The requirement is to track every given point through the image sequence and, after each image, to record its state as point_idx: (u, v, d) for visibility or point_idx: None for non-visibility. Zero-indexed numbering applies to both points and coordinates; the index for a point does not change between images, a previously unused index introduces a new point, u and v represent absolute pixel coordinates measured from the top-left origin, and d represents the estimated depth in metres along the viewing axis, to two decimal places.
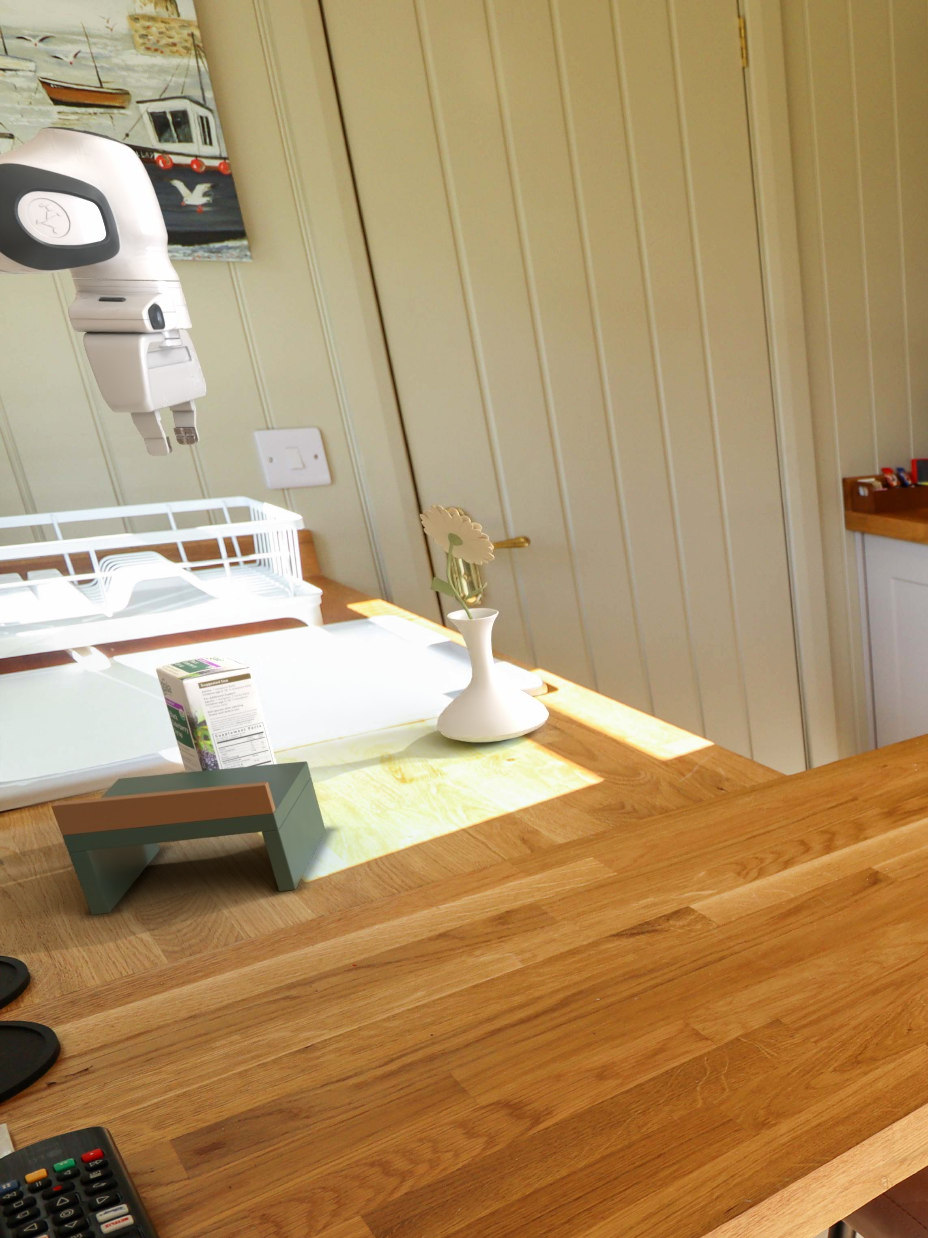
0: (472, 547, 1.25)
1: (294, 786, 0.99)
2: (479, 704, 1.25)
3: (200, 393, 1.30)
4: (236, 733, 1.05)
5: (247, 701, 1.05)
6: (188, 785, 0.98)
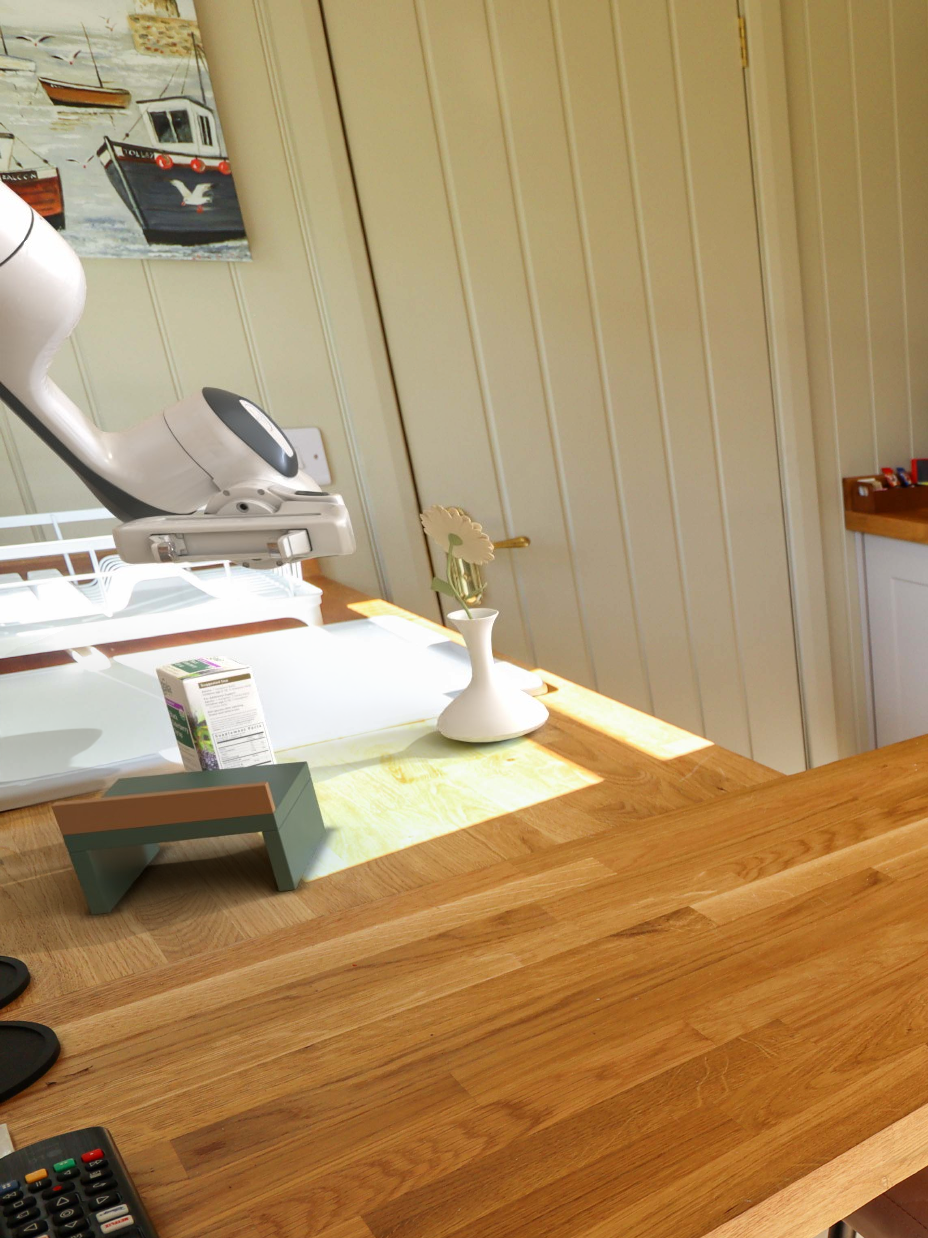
0: (472, 547, 1.25)
1: (294, 786, 0.99)
2: (479, 704, 1.25)
3: None
4: (236, 733, 1.05)
5: (247, 701, 1.05)
6: (188, 785, 0.98)
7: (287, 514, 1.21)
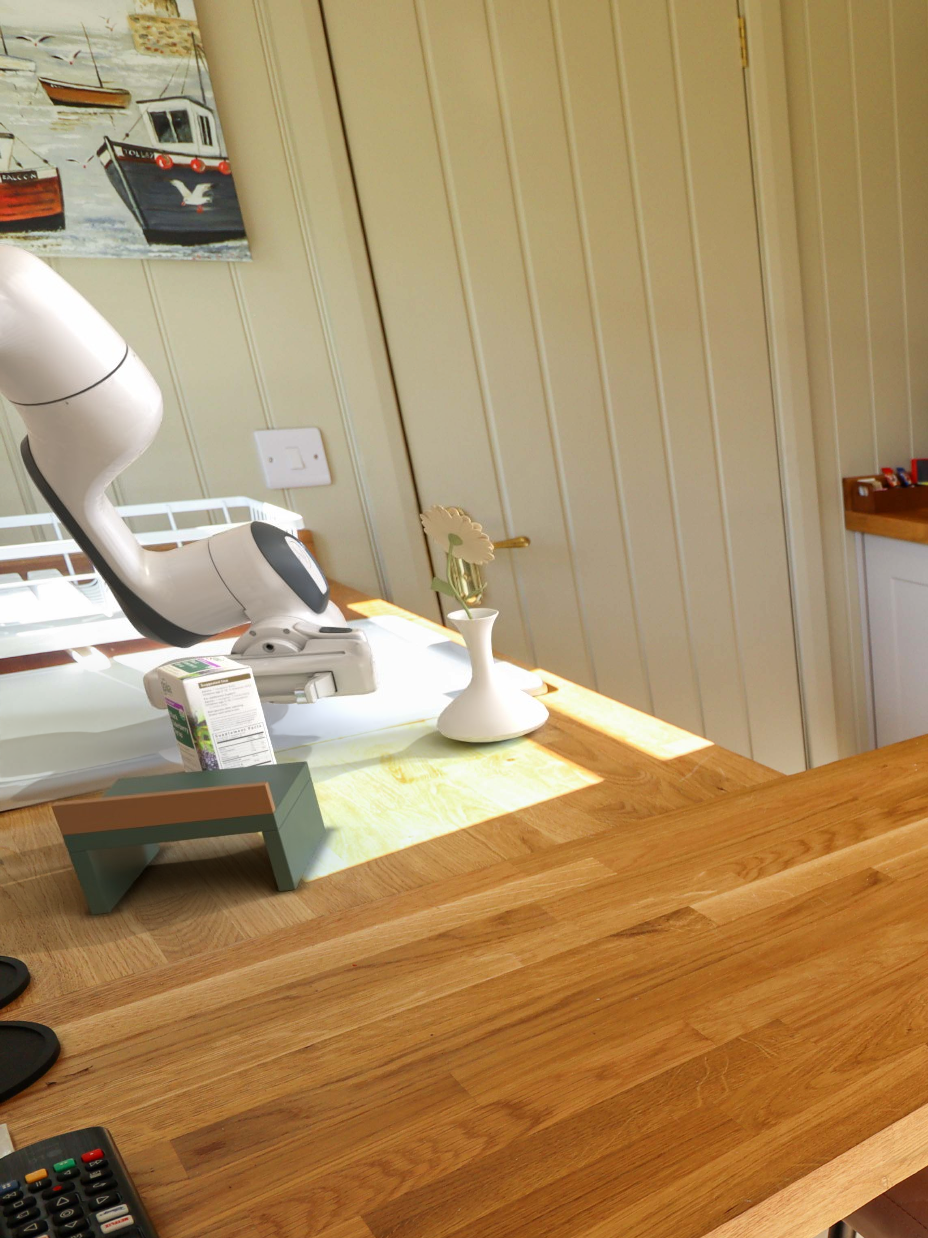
0: (472, 547, 1.25)
1: (294, 786, 0.99)
2: (479, 704, 1.25)
3: None
4: (236, 733, 1.05)
5: (247, 701, 1.05)
6: (188, 785, 0.98)
7: (312, 653, 1.24)
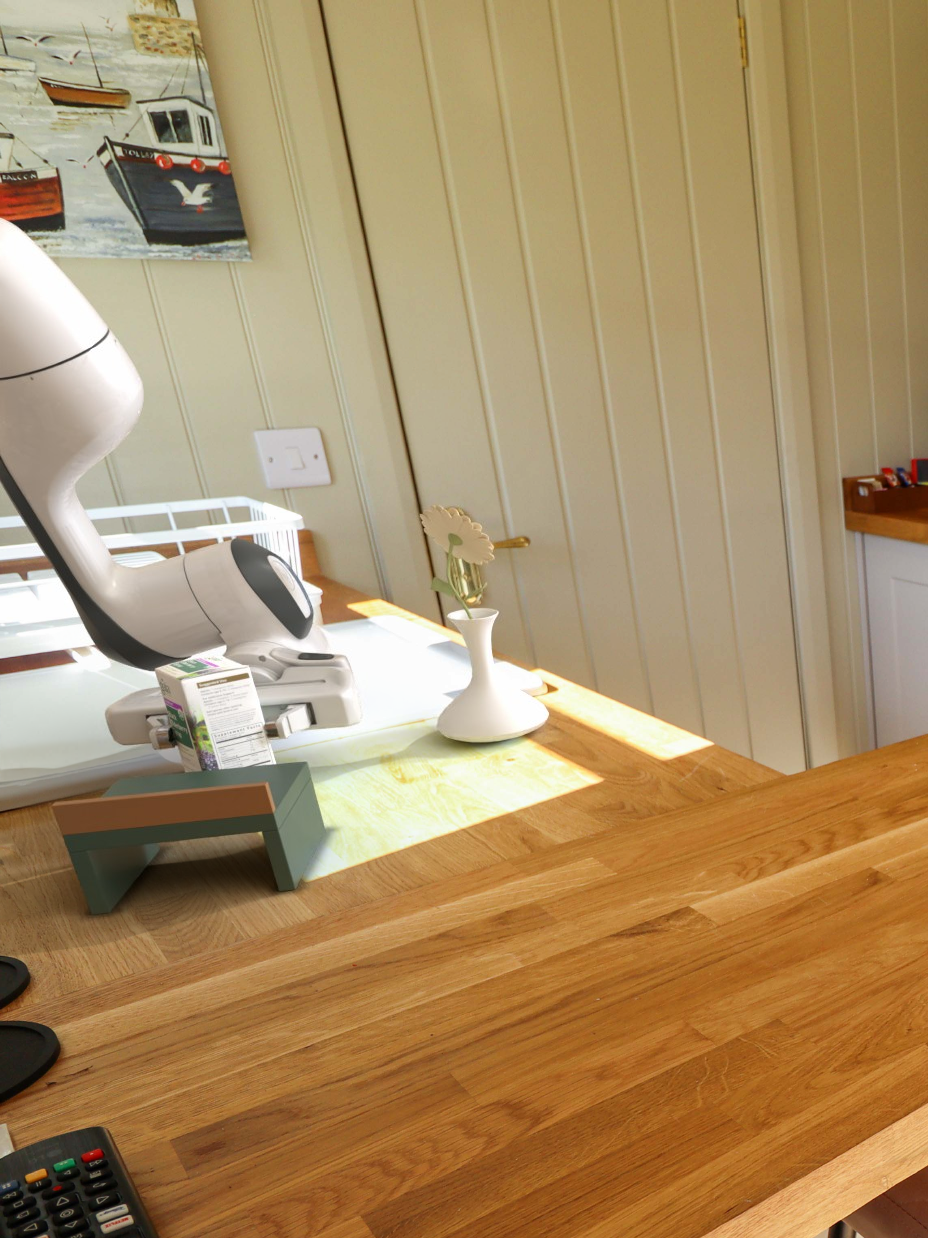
0: (472, 547, 1.25)
1: (294, 786, 0.99)
2: (479, 704, 1.25)
3: None
4: (235, 733, 1.05)
5: (246, 701, 1.05)
6: (188, 785, 0.98)
7: (290, 682, 1.15)
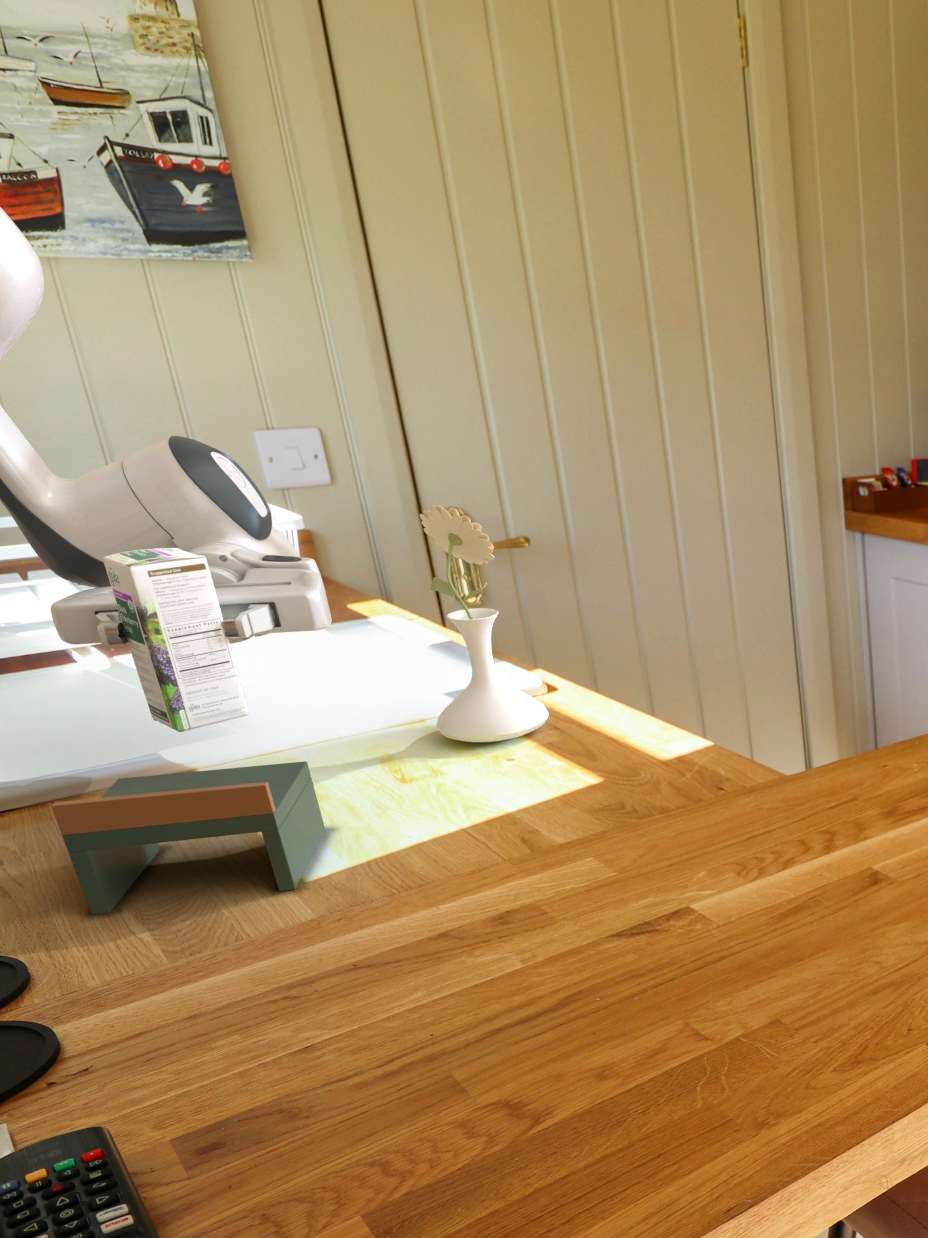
0: (472, 547, 1.25)
1: (294, 786, 0.99)
2: (479, 704, 1.25)
3: None
4: (190, 629, 0.97)
5: (202, 594, 0.97)
6: (188, 785, 0.98)
7: (253, 583, 1.07)
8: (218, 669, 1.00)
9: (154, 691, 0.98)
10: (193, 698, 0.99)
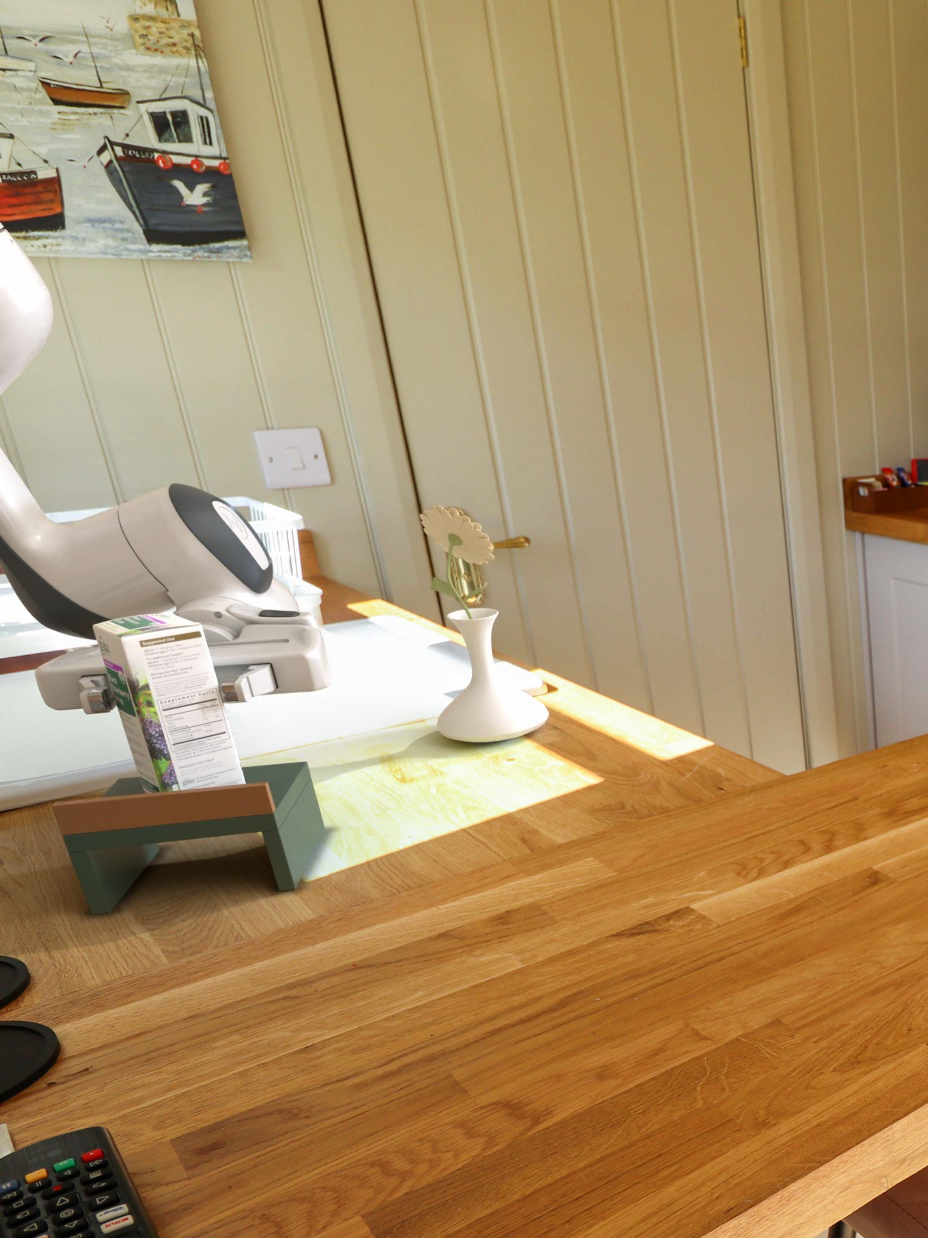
0: (472, 547, 1.25)
1: (294, 786, 0.99)
2: (479, 704, 1.25)
3: None
4: (185, 700, 0.92)
5: (198, 663, 0.92)
6: None
7: (249, 641, 1.02)
8: (213, 741, 0.95)
9: (145, 765, 0.93)
10: (187, 772, 0.94)
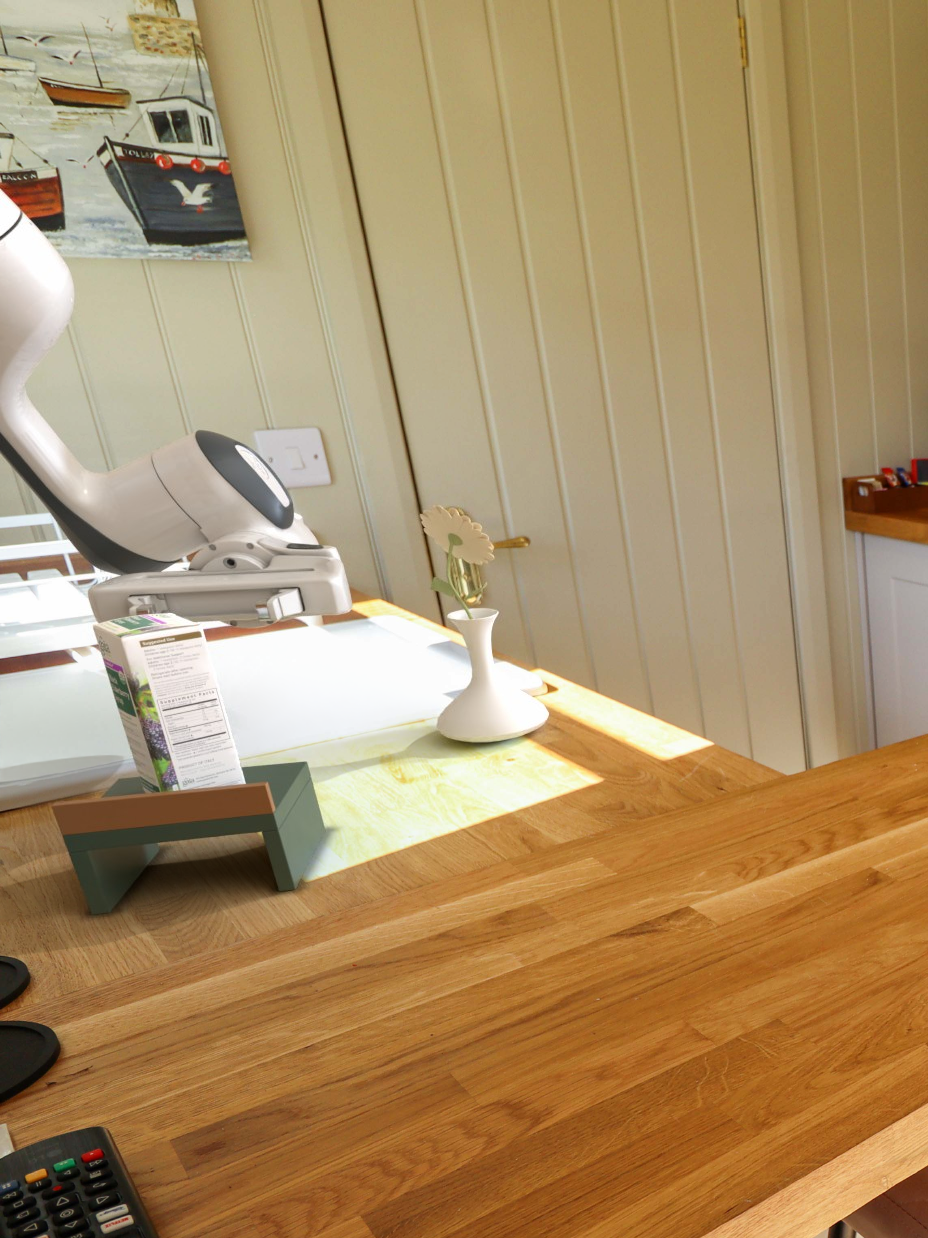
0: (472, 547, 1.25)
1: (294, 786, 0.99)
2: (479, 704, 1.25)
3: None
4: (185, 700, 0.92)
5: (198, 663, 0.92)
6: None
7: (278, 570, 1.12)
8: (213, 741, 0.95)
9: (145, 765, 0.93)
10: (187, 772, 0.94)
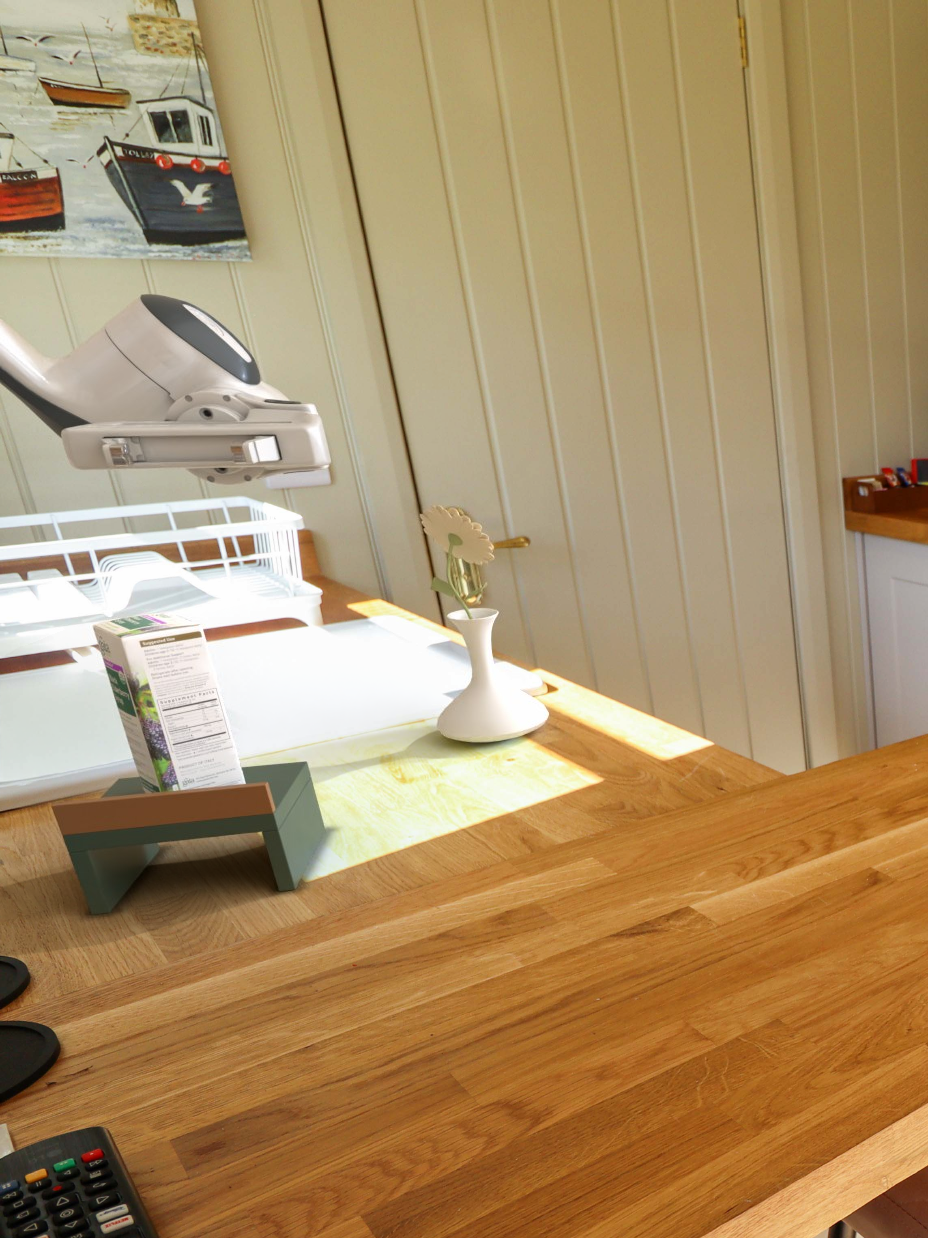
0: (472, 547, 1.25)
1: (294, 786, 0.99)
2: (479, 704, 1.25)
3: (114, 469, 1.05)
4: (185, 700, 0.92)
5: (198, 663, 0.92)
6: None
7: (255, 422, 1.11)
8: (213, 741, 0.95)
9: (145, 765, 0.93)
10: (187, 772, 0.94)
